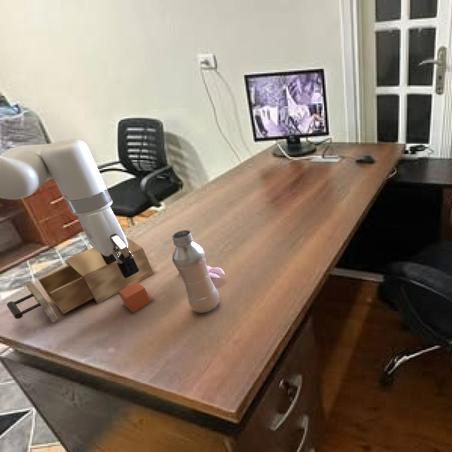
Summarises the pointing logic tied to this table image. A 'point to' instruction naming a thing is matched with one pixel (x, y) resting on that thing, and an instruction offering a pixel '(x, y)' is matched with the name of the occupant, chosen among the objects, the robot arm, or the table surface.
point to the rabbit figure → (214, 272)
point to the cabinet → (108, 271)
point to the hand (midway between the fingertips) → (122, 267)
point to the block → (134, 296)
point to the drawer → (56, 293)
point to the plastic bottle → (194, 272)
